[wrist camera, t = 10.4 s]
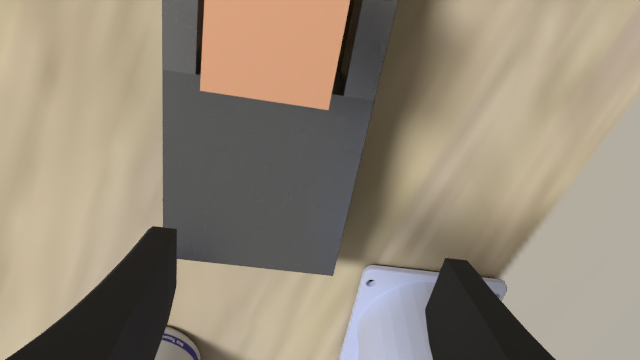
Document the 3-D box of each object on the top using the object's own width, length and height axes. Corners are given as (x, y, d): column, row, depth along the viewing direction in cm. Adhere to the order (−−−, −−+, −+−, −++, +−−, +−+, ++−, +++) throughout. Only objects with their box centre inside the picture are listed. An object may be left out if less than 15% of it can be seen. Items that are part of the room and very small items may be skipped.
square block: (324, 48, 21) (328, 110, 16) (226, 32, 21) (199, 90, 16) (342, -56, 19) (354, -23, 14) (235, -76, 19) (206, -50, 14)
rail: (331, 242, 27) (332, 275, 24) (175, 224, 26) (163, 257, 24) (482, -437, 14) (513, -489, 12) (183, -513, 13) (159, -583, 11)
